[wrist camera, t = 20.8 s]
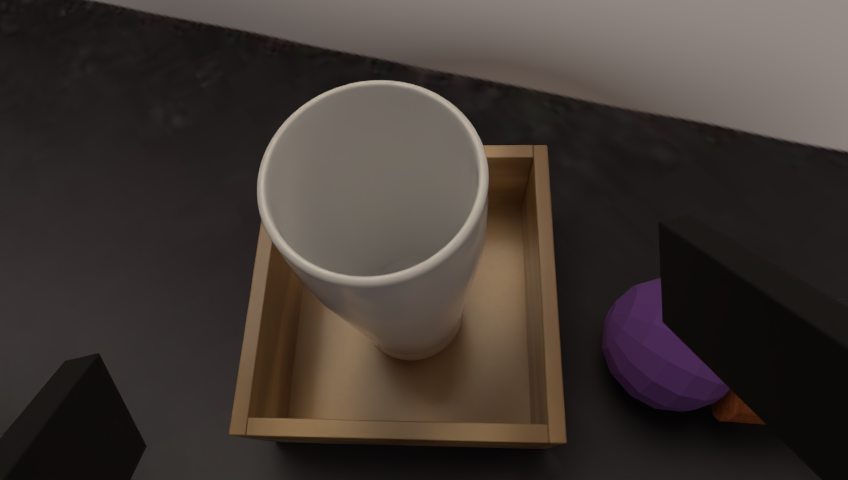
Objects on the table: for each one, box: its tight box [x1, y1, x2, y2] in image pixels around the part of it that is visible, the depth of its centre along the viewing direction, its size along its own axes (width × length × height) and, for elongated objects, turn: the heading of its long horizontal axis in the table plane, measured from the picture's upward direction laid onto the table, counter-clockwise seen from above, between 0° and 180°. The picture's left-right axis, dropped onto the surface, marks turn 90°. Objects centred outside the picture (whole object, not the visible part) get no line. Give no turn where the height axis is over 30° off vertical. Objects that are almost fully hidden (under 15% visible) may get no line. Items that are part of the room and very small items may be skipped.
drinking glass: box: [257, 80, 489, 361], centre depth 23 cm, size 7×7×15 cm
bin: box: [229, 145, 567, 449], centre depth 27 cm, size 13×13×6 cm
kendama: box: [601, 278, 766, 425], centre depth 25 cm, size 6×6×20 cm
